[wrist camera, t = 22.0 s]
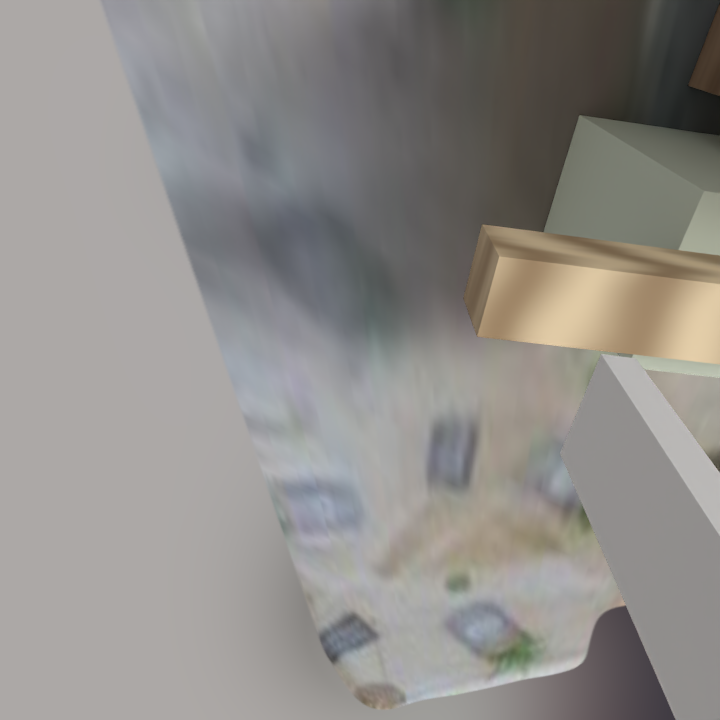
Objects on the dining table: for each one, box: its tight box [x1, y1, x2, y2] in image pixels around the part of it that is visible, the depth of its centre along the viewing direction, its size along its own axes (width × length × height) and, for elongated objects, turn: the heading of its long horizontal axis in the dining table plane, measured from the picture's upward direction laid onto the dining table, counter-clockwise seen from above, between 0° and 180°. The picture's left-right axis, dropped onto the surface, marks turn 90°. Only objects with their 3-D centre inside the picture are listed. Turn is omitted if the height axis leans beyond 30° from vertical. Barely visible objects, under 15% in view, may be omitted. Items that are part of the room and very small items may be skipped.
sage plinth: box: [544, 115, 720, 378], centre depth 41 cm, size 16×10×18 cm, turn 82°
